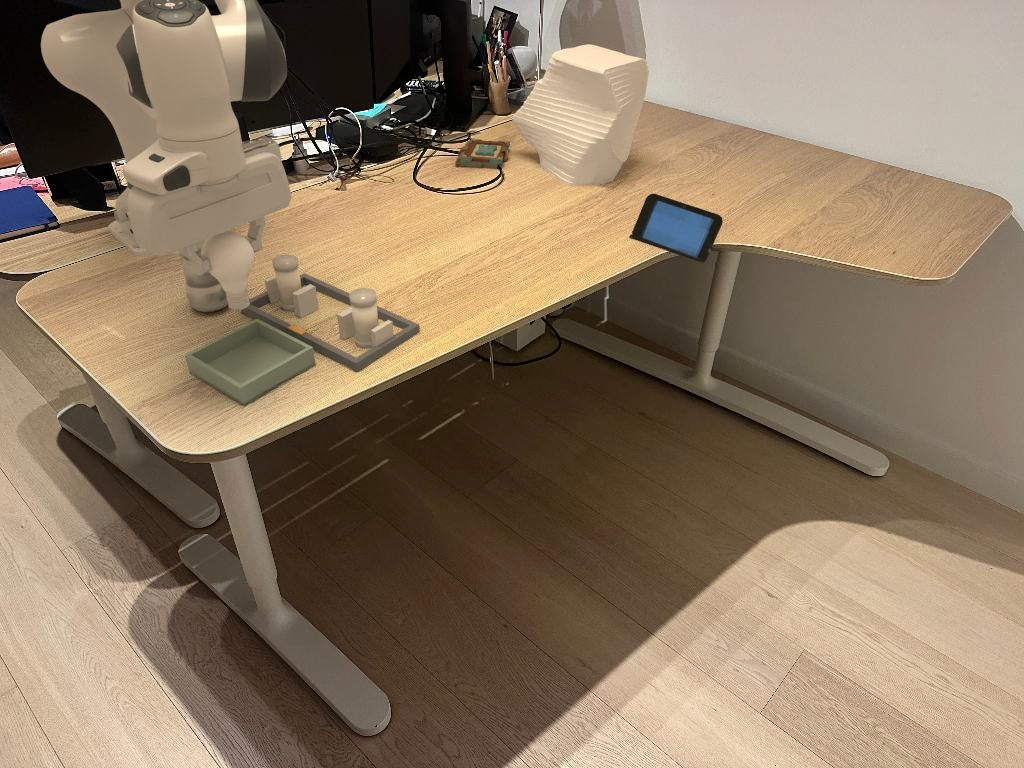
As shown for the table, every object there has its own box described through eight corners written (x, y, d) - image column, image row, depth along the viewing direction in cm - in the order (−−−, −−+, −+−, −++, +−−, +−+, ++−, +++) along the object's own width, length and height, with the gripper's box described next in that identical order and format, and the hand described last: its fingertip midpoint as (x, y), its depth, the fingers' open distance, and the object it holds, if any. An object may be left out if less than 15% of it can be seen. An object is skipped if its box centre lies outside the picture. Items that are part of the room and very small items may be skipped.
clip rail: (241, 312, 118) (236, 289, 115) (305, 281, 126) (302, 259, 124) (357, 372, 105) (354, 348, 103) (419, 333, 114) (418, 310, 111)
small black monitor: (602, 261, 135) (607, 212, 129) (642, 237, 143) (648, 191, 137) (678, 290, 127) (687, 240, 121) (716, 263, 135) (725, 215, 129)
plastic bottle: (181, 309, 118) (147, 187, 106) (216, 292, 123) (187, 173, 111) (208, 321, 115) (176, 198, 103) (243, 303, 120) (216, 183, 108)
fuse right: (349, 342, 111) (343, 295, 107) (368, 331, 114) (363, 285, 109) (367, 351, 110) (362, 304, 105) (386, 340, 112) (381, 293, 107)
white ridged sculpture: (578, 203, 155) (588, 73, 139) (508, 163, 173) (510, 43, 157) (655, 184, 164) (672, 60, 149) (581, 147, 182) (589, 33, 167)
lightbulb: (269, 296, 102) (254, 221, 96) (258, 321, 97) (242, 243, 91) (222, 296, 102) (204, 221, 95) (209, 321, 97) (188, 243, 90)
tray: (189, 372, 104) (184, 355, 103) (261, 335, 112) (257, 318, 111) (244, 406, 99) (240, 388, 97) (315, 364, 107) (312, 347, 105)
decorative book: (449, 182, 164) (448, 159, 161) (465, 154, 178) (464, 133, 175) (509, 186, 162) (510, 164, 159) (520, 158, 176) (521, 137, 173)
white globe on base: (275, 305, 119) (266, 261, 114) (294, 296, 122) (286, 252, 117) (291, 313, 118) (283, 268, 113) (310, 303, 120) (302, 259, 115)
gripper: (259, 127, 95) (278, 227, 104) (107, 172, 82) (142, 283, 90) (292, 137, 92) (308, 240, 101) (140, 186, 79) (172, 299, 87)
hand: (228, 261), depth 95 cm, fingers closed on lightbulb, 6 cm apart
